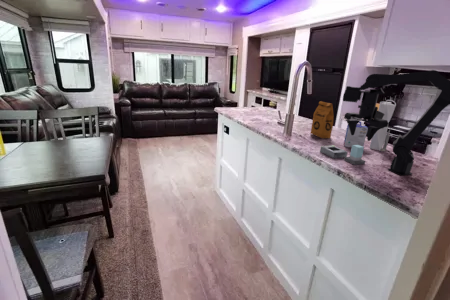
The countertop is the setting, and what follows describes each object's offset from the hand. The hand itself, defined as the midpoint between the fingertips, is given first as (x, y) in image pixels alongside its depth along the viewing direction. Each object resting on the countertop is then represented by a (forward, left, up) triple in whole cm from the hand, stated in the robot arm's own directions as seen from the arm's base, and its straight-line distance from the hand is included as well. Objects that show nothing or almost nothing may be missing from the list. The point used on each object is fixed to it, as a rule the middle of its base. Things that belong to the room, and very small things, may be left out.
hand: (360, 137), depth 108 cm
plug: (0, 0, -12) cm, 12 cm away
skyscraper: (+14, -30, -12) cm, 35 cm away
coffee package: (+42, -14, -12) cm, 46 cm away
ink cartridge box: (+20, -19, -12) cm, 30 cm away
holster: (0, 0, -12) cm, 12 cm away
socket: (+11, +3, -12) cm, 16 cm away
